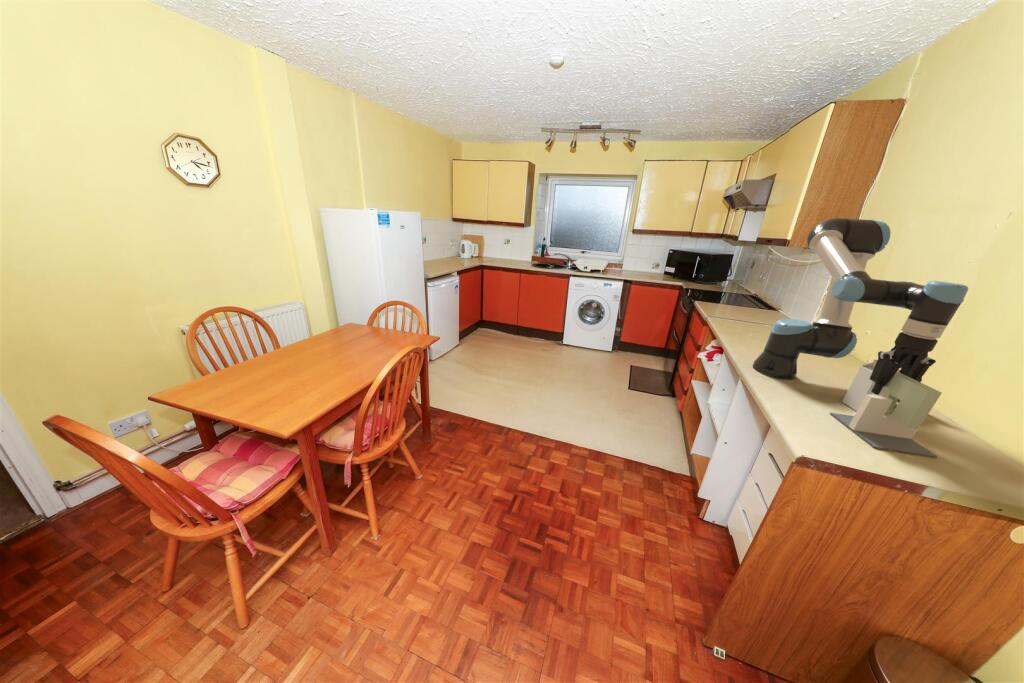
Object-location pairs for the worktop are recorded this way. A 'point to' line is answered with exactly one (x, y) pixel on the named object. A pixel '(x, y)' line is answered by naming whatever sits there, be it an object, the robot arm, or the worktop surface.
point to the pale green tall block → (910, 400)
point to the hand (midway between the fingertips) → (879, 403)
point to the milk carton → (860, 386)
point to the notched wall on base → (882, 427)
